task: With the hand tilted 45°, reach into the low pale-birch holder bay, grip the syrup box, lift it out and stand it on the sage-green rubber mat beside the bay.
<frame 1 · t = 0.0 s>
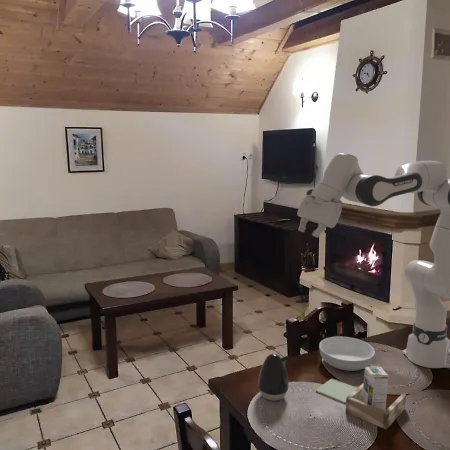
hand: (307, 233, 154), 54 cm above the table, tool tilted 30°, fingers open, 8 cm apart
pump dispenser: (273, 397, 155), on the table
holder bay: (373, 412, 146), on the table
serving bowl: (345, 364, 178), on the table
syrup box: (373, 413, 146), resting in holder bay
sage mat: (338, 391, 159), on the table
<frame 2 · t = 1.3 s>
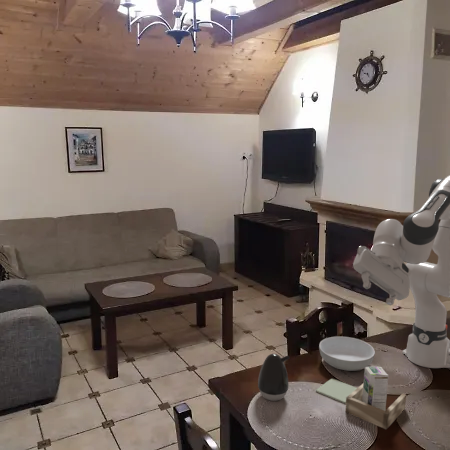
hand: (378, 295, 138), 39 cm above the table, tool tilted 55°, fingers open, 8 cm apart
nothing on the table moved.
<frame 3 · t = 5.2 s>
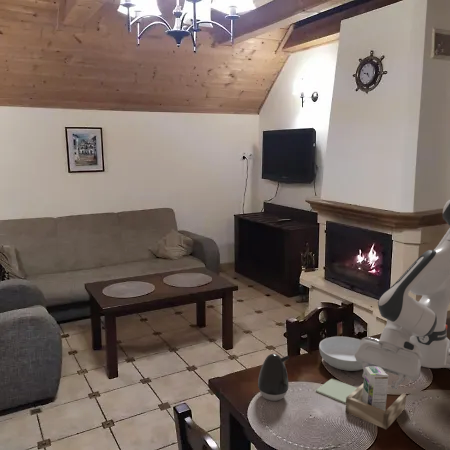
hand: (379, 382, 145), 10 cm above the table, tool tilted 45°, fingers open, 8 cm apart
syrup box: (373, 413, 146), resting in holder bay, touching gripper
everything else where it was.
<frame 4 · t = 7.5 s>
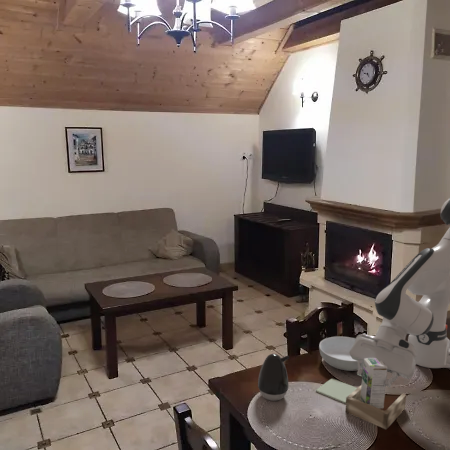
hand: (373, 380, 144), 11 cm above the table, tool tilted 45°, fingers closed on syrup box, 8 cm apart
syrup box: (371, 404, 146), point 2 cm above the table, touching gripper
everything else where it was.
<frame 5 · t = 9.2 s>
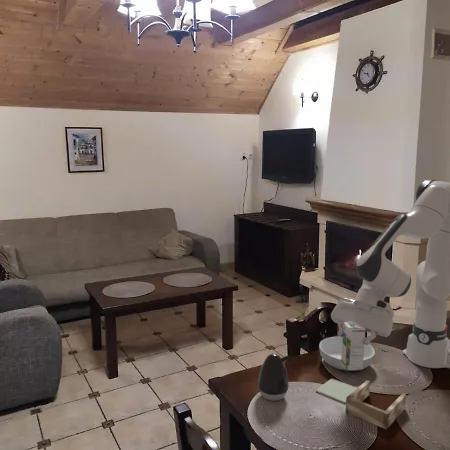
hand: (352, 339, 150), 21 cm above the table, tool tilted 45°, fingers closed on syrup box, 8 cm apart
syrup box: (351, 366, 152), point 11 cm above the table, touching gripper
everything else where it was.
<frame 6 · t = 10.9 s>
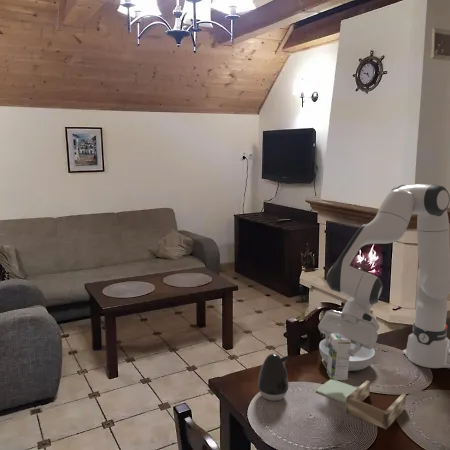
hand: (338, 351, 156), 15 cm above the table, tool tilted 45°, fingers closed on syrup box, 8 cm apart
syrup box: (337, 376, 158), point 5 cm above the table, touching gripper
everything else where it was.
when the fingers open (10 cm above the table, at t = 12.4 s): syrup box stays where it is, resting on sage mat.
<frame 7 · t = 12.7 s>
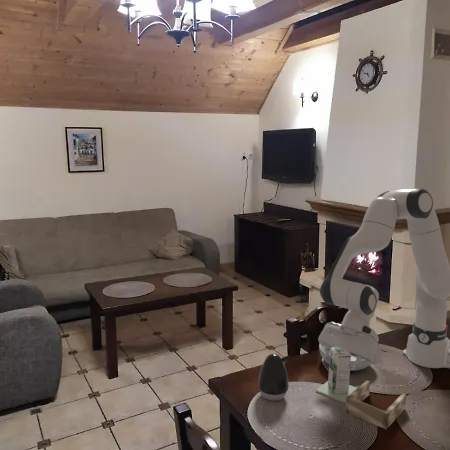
hand: (338, 363, 156), 10 cm above the table, tool tilted 45°, fingers open, 8 cm apart
syrup box: (338, 390, 159), resting on sage mat
everything else where it was.
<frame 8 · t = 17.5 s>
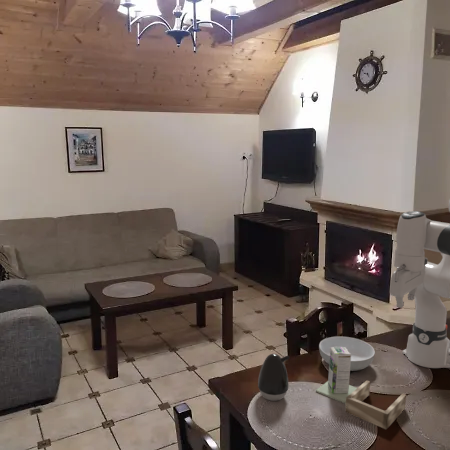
hand: (405, 303, 150), 33 cm above the table, tool pointing down, fingers open, 8 cm apart
nothing on the table moved.
at the end: syrup box inside the target area on the sage mat (0.0 cm from its centre), point 0.4 cm above the sage mat's base; syrup box tilted 0°; the gripper is holding nothing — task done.
